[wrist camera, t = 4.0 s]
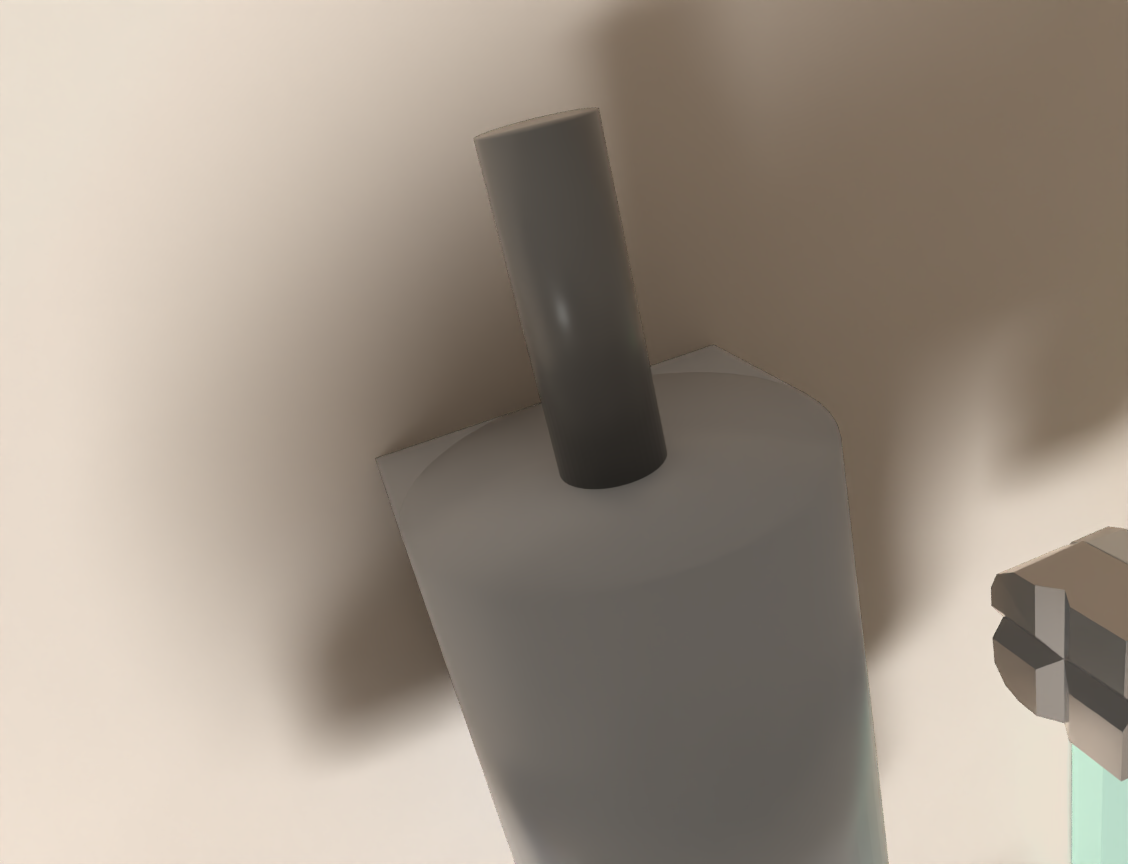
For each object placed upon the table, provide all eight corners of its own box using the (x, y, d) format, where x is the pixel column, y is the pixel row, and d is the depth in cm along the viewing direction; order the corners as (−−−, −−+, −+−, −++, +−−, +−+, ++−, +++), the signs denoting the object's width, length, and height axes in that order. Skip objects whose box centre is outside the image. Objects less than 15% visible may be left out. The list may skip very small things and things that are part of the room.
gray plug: (276, 173, 8) (292, 225, 5) (665, 70, 9) (923, 49, 6) (552, 970, 13) (665, 1300, 9) (797, 855, 14) (986, 1119, 10)
